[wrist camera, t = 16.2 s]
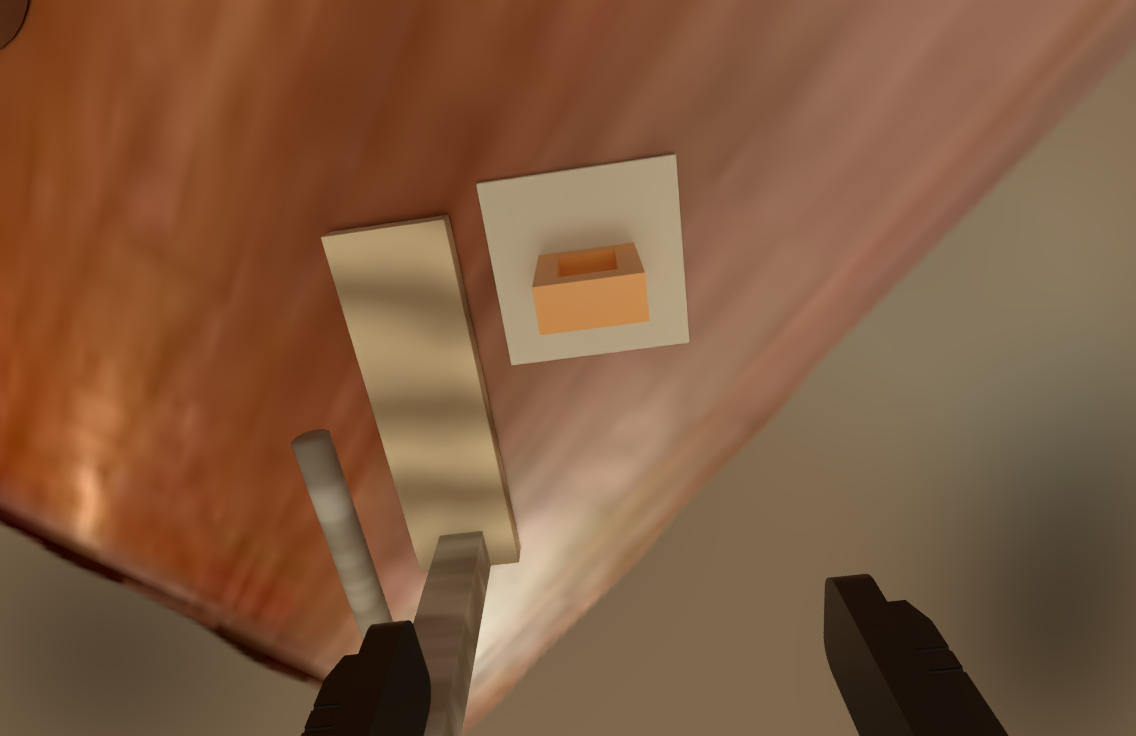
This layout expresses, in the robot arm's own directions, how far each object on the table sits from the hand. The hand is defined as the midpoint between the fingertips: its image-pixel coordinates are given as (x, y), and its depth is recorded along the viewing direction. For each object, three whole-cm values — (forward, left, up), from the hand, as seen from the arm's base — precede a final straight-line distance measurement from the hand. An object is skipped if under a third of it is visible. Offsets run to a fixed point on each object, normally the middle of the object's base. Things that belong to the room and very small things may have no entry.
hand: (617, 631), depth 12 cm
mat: (0, 0, -28) cm, 28 cm away
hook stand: (-11, -8, -28) cm, 31 cm away
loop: (0, 0, -27) cm, 27 cm away
